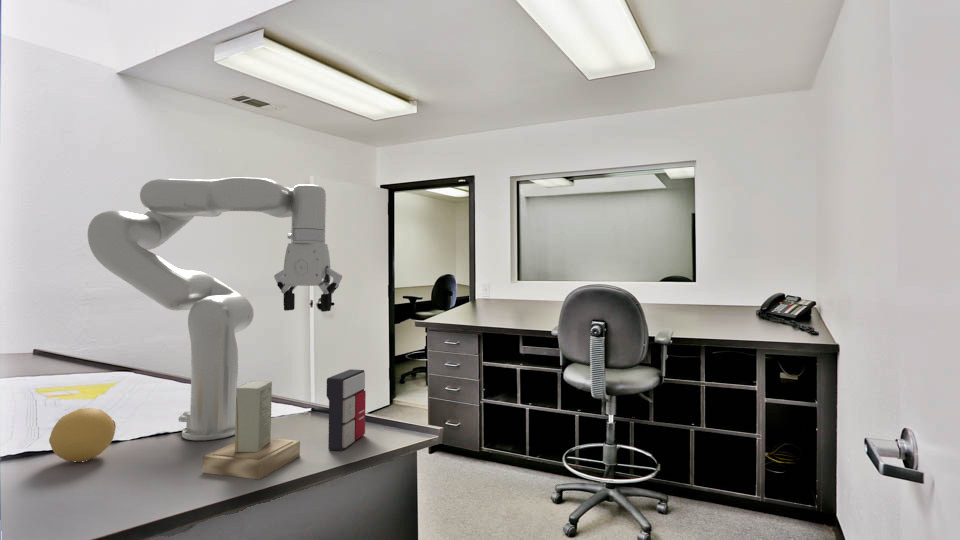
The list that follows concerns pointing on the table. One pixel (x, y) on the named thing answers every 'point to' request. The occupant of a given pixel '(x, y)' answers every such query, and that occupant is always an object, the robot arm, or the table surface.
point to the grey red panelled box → (346, 408)
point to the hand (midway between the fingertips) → (307, 310)
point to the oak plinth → (251, 459)
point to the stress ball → (82, 434)
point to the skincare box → (253, 416)
